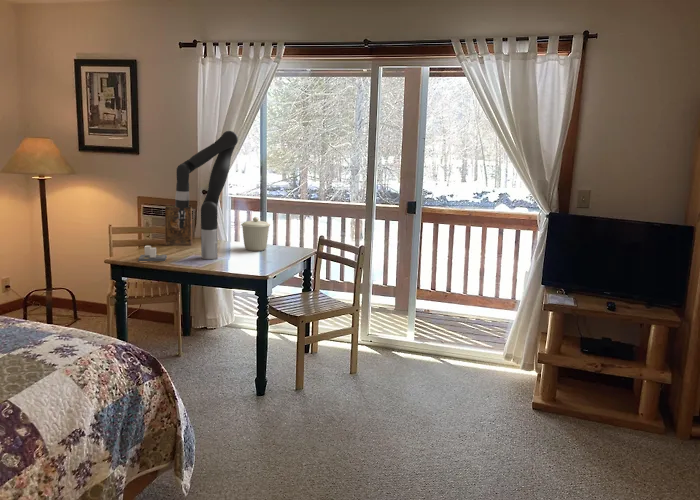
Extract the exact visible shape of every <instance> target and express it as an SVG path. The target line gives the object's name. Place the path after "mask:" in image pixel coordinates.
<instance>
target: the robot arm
mask: <svg viewBox="0 0 700 500" xmlns="http://www.w3.org/2000/svg"><path fill="white" fill-rule="evenodd" d="M238 141H239V137H238V134H237V133H236V132H235V131H233V130H227V131H224V132H223V133H222V134H221V136H220V137H219V138H218V139H217V140H216V141H214V142H213V143H212V144H210V145H208V146H206V147H205V148H203V149H202V150H200V151H199V152H197V153H195V154H194V155H192V156H191V157H190V158H189V159H187V160H186V161H184V162H182V163H180V164H179V165H178V166H177V168H176V189H175V190H176V191H175V202H174V203H175V205H174V206H175V207H177V208H179V209H180V210H178V214H179V219H180V220H179V221H180V223H179V225H180V228H184V219H185V214H186V211H185V210H184V208H188V207H189V206H190V174H191V173H193V172H194V171H195V170H196V169H199V168H200V167H201V166H203V165H205V164H206V163H208V162H209V161H210V160H212V159H213V158H214V157H216V158H215V160H214V164H213V165H212V169H211V173H210V176H209V181H208V187H207V191H206V195H205V198H204V200H203V202H202V204H201V207H200V235H201V237H200V240H201V241H200V244H201V245H200V249H201V250H200V251H201V253H200V255H201V259H203V260H216V259H217V260H218V252H219V251H218V205H219V199H220V196H221V194H222V191H223V189H224V186H225V184H226V182H227V179H228V176H229V172H230V171H229V170H230V165H231V159H232V155H233V153H234V149H235V147H236V145H237V144H238Z"/></svg>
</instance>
